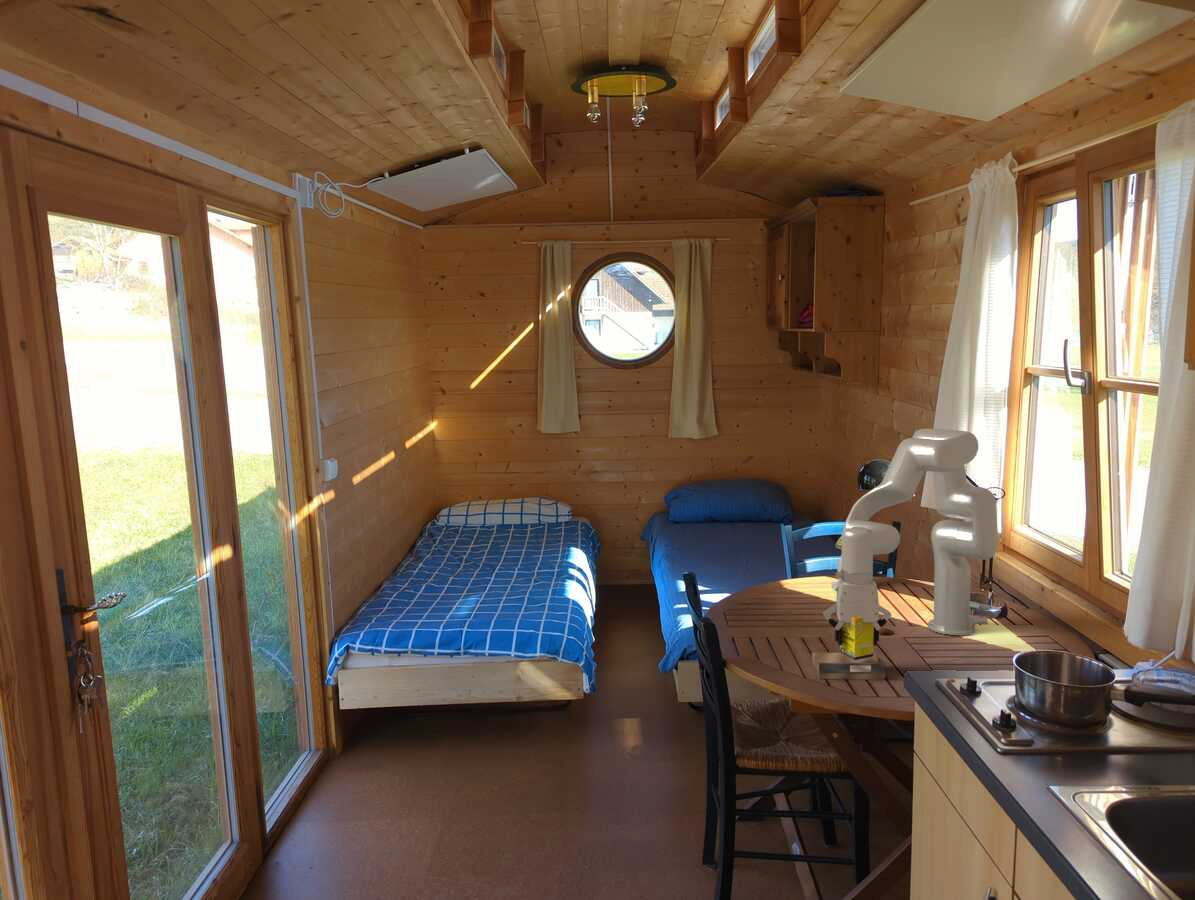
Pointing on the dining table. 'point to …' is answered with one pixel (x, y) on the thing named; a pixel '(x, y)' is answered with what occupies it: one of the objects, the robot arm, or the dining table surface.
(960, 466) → the robot arm
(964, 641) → the dining table surface
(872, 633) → the supplement box
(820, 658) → the flat box
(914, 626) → the dining table surface
